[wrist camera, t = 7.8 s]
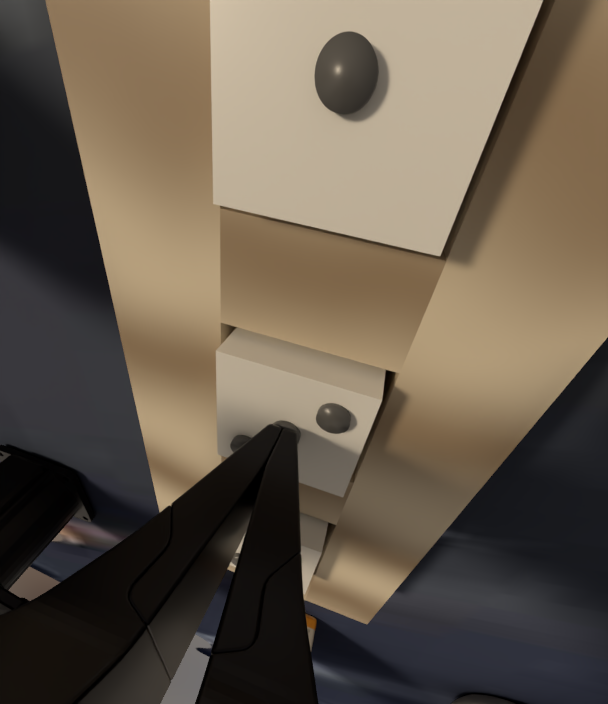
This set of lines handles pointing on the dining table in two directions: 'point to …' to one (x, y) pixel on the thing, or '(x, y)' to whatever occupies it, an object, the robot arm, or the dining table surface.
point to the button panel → (348, 277)
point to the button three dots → (297, 403)
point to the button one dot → (359, 109)
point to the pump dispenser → (480, 700)
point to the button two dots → (304, 546)
